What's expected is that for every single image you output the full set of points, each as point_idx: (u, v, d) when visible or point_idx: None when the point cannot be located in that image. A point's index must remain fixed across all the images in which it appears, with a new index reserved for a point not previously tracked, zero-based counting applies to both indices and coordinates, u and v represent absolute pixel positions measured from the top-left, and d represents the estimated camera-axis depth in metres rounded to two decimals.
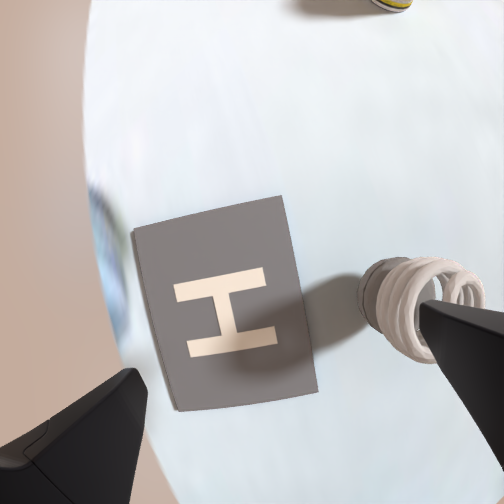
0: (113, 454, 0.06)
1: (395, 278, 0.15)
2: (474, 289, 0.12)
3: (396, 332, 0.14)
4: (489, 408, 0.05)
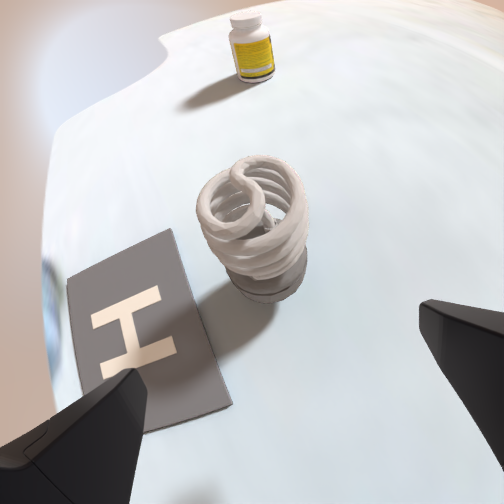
0: (112, 454, 0.06)
1: None
2: (273, 166, 0.15)
3: (206, 232, 0.15)
4: (489, 408, 0.05)
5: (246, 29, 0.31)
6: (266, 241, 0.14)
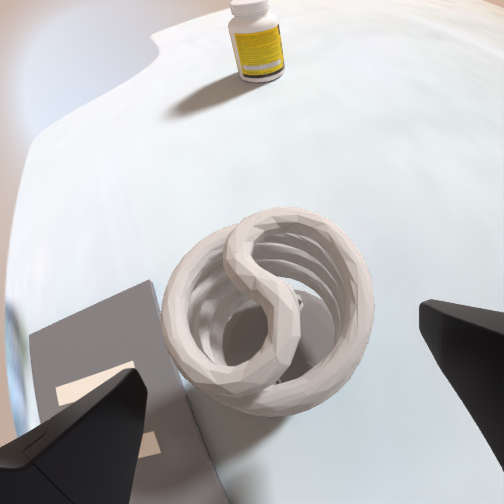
0: (112, 454, 0.06)
1: None
2: (312, 232, 0.08)
3: None
4: (489, 408, 0.05)
5: (249, 16, 0.25)
6: (298, 398, 0.06)
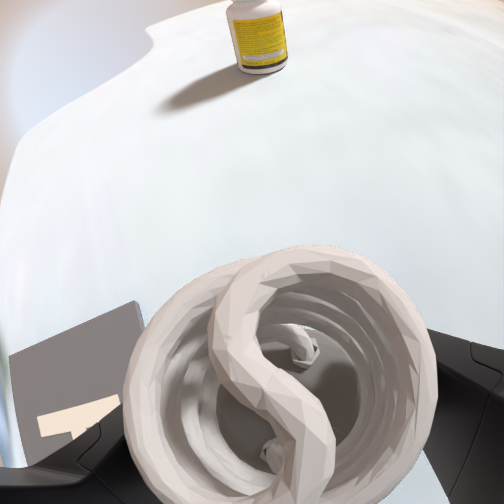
0: None
1: None
2: (352, 289, 0.05)
3: None
4: (433, 437, 0.05)
5: (250, 1, 0.21)
6: None
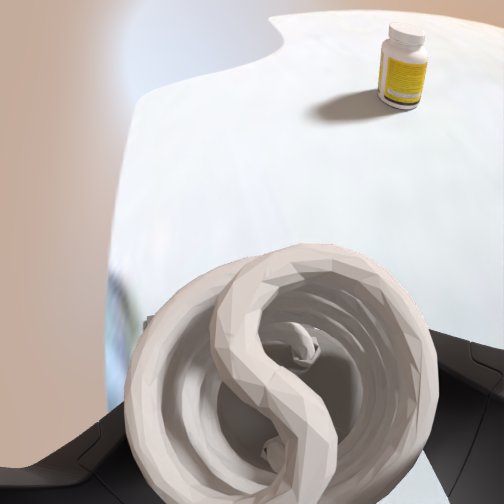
0: None
1: None
2: (354, 287, 0.05)
3: None
4: (433, 437, 0.05)
5: (408, 46, 0.24)
6: None
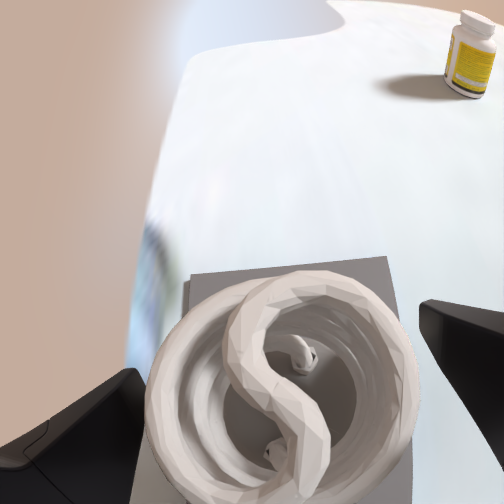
0: (112, 454, 0.06)
1: None
2: (345, 308, 0.05)
3: None
4: (489, 408, 0.05)
5: (479, 33, 0.18)
6: None
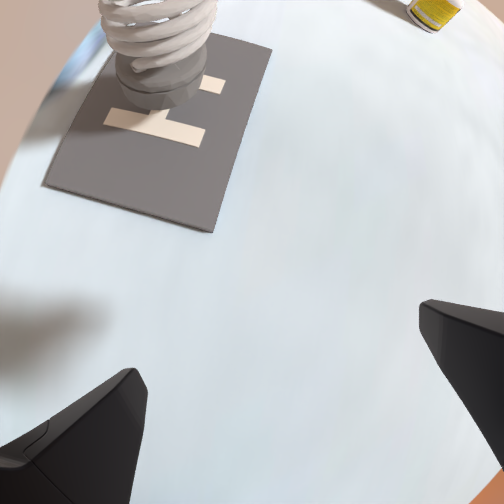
0: (113, 454, 0.06)
1: None
2: None
3: None
4: (489, 408, 0.05)
5: None
6: (148, 9, 0.09)
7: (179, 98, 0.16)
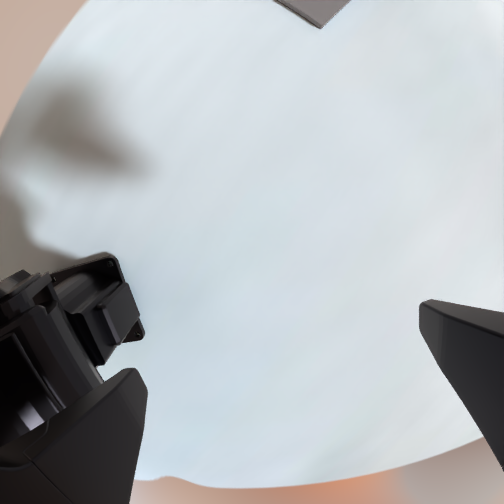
0: (112, 454, 0.06)
1: None
2: None
3: None
4: (489, 408, 0.05)
5: None
6: None
7: None
